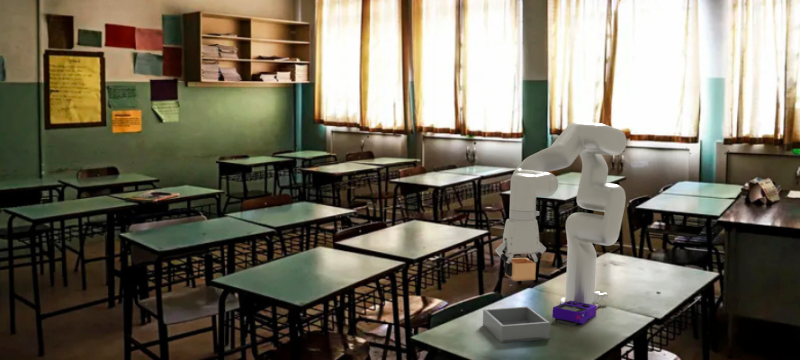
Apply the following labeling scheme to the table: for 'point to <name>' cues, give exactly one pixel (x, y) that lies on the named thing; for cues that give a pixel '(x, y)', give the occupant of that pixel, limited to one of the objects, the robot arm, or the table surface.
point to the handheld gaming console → (574, 312)
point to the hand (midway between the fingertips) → (519, 274)
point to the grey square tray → (516, 324)
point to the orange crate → (522, 269)
